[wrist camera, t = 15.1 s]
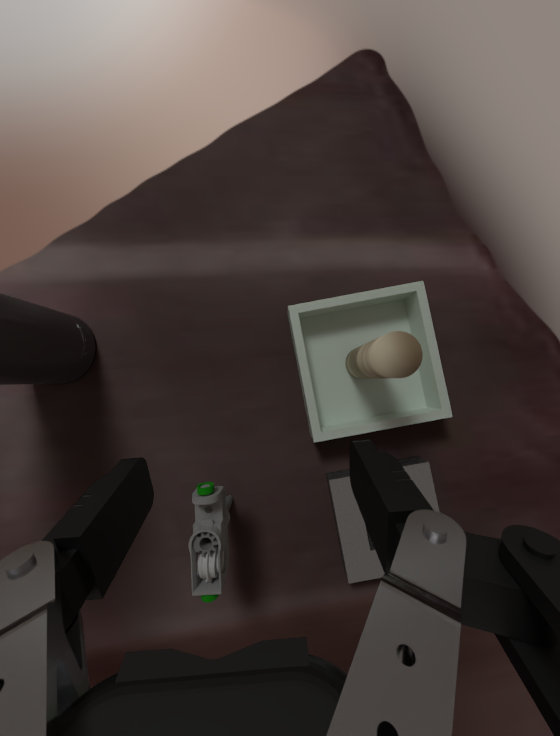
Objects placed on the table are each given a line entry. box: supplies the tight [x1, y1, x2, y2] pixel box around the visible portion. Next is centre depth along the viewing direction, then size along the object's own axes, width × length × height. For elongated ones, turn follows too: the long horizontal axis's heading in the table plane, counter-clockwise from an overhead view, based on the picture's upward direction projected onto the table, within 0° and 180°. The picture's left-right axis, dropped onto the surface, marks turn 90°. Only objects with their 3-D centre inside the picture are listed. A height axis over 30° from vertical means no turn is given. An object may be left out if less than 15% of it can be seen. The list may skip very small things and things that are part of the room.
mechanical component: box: [189, 482, 233, 602], centre depth 30 cm, size 3×10×10 cm, turn 3°
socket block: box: [326, 456, 439, 583], centre depth 34 cm, size 12×12×2 cm
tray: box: [288, 281, 452, 443], centre depth 34 cm, size 16×16×4 cm
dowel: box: [345, 331, 423, 379], centre depth 29 cm, size 4×4×12 cm
